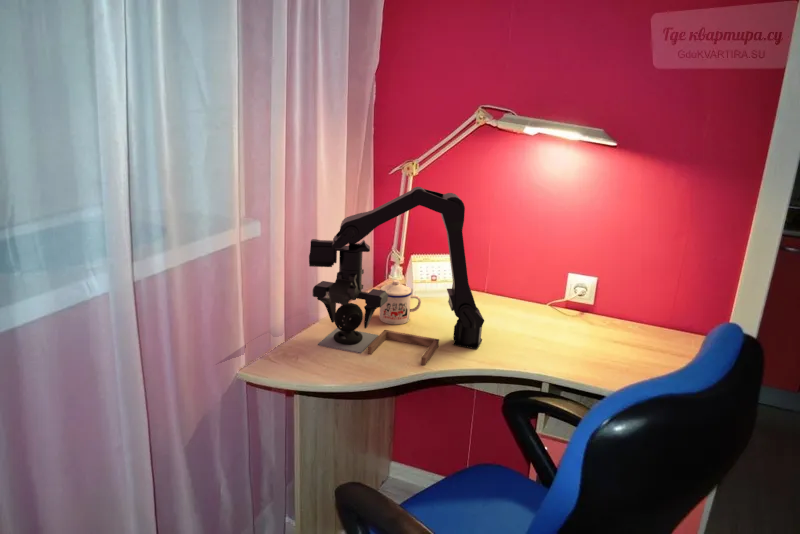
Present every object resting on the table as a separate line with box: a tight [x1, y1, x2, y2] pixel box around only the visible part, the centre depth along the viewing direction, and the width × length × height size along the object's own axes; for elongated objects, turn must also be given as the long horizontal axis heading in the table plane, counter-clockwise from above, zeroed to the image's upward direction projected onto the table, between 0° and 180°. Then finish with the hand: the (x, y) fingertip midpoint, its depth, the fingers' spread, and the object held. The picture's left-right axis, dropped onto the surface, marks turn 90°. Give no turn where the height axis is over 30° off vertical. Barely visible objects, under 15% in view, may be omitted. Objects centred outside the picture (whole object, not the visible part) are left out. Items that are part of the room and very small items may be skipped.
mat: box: [317, 327, 380, 355], centre depth 156 cm, size 12×12×1 cm
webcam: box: [334, 302, 364, 345], centre depth 154 cm, size 8×8×10 cm
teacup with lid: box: [378, 279, 422, 325], centre depth 170 cm, size 12×9×12 cm
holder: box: [367, 329, 440, 366], centre depth 152 cm, size 15×12×2 cm
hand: (349, 325), depth 155 cm, fingers open, 9 cm apart
